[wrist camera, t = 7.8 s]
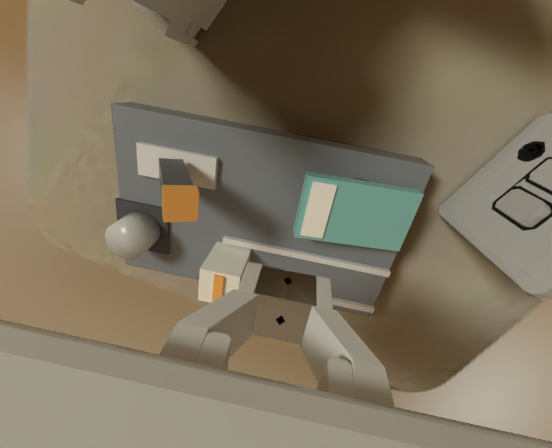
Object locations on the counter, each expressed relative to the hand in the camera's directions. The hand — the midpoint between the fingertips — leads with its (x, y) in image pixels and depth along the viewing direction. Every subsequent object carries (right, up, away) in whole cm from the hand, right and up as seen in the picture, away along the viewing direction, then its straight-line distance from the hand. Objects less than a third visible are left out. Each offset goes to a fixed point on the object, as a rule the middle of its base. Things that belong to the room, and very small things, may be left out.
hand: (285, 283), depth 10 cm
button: (-12, +2, +13) cm, 18 cm away
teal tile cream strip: (+5, +3, +9) cm, 11 cm away
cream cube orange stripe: (-4, -1, +14) cm, 15 cm away
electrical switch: (+18, +5, +11) cm, 21 cm away
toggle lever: (-8, +6, +10) cm, 14 cm away
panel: (-2, +3, +14) cm, 15 cm away
